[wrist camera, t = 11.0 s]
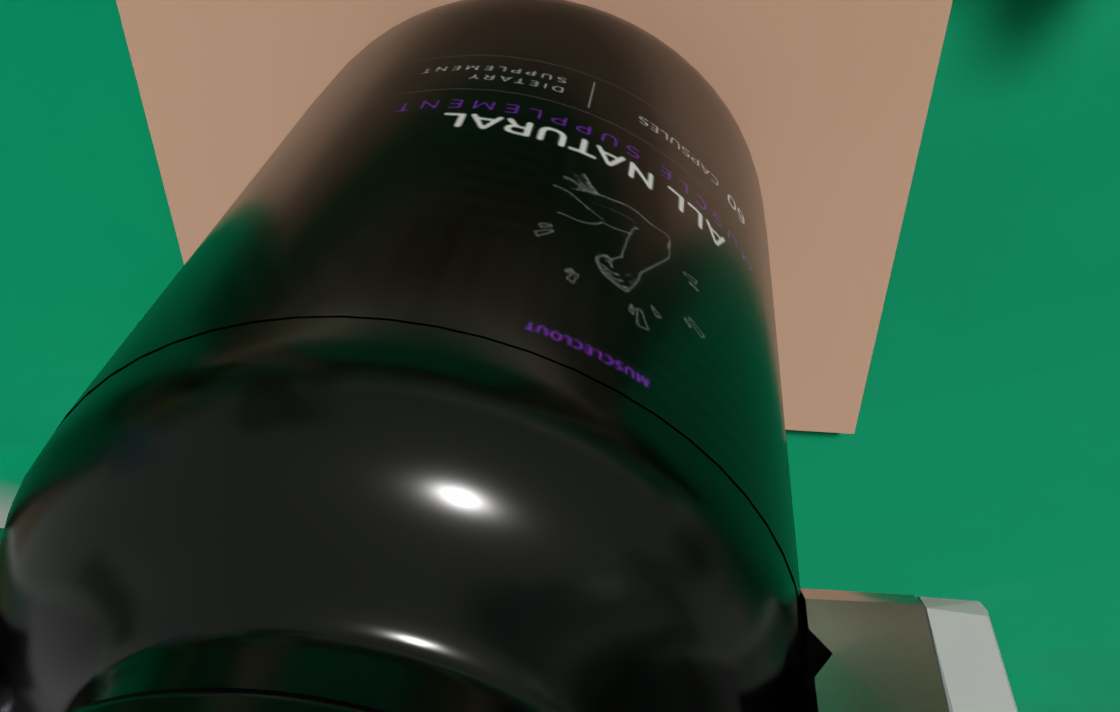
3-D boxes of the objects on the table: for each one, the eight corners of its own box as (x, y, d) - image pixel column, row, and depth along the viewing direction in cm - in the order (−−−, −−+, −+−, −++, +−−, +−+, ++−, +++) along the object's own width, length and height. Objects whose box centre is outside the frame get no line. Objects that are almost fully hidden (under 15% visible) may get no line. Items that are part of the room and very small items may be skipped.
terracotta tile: (982, -180, 13) (992, -173, 13) (850, 416, 19) (854, 434, 19) (84, -195, 14) (67, -189, 14) (226, 378, 20) (217, 394, 20)
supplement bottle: (735, -68, 13) (887, 968, 3) (778, 368, 17) (902, 1427, 7) (230, 23, 14) (-751, 943, 4) (378, 406, 18) (26, 1340, 8)
